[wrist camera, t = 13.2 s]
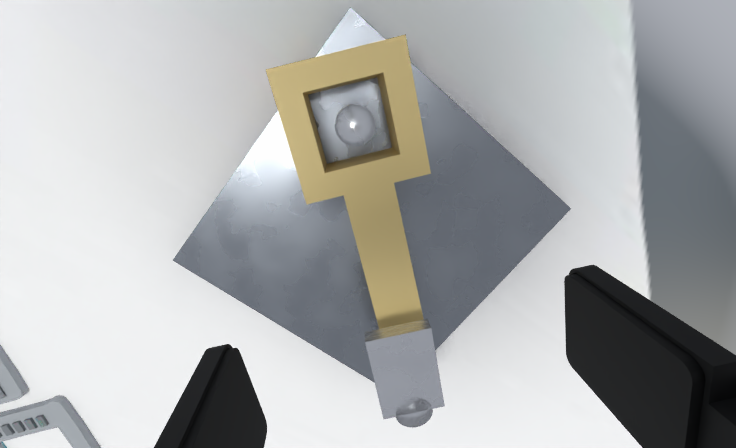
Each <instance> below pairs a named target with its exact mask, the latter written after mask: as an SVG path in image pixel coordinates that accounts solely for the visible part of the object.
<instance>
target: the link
mask: <svg viewBox="0 0 736 448" xmlns="http://www.w3.org/2000/svg"><path fill="white" fill-rule="evenodd" d="M266 72H267V76H268V79H269V82H270V86H271V89H272V92H273V95H274V99H275V102H276V105H277V109H278V112H279V115H280V119H281V122H282V125H283V128H284V132H285V135H286V138H287V142H288V145H289V148H290V151H291V155H292V158H293V161H294V165H295V168H296V171H297V175H298V178H299V181H300V184H301V188H302V191H303V194H304V198H305V201H306V204H311V203H315V202H319V201H323V200H327V199H331V198H335V197H339V196H343V195H344V199H345V203H346V207H347V210H348V214H349V218H350V222H351V225H352V229H353V233H354V236H355V240H356V244H357V248H358V251H359V255H360V259H361V263H362V266H363V270H364V274H365V278H366V281H367V285H368V289H369V293H370V296H371V300H372V304H373V308H374V311H375V315H376V319H377V323H378V326H379V329H382V328H386V327H391V326H396V325H400V324H405V323H409V322H414V321H419V320H423V319H424V318H423V314H422V309H421V305H420V300H419V295H418V291H417V286H416V282H415V277H414V272H413V268H412V263H411V259H410V254H409V250H408V245H407V240H406V236H405V231H404V227H403V222H402V217H401V213H400V208H399V204H398V199H397V195H396V190H395V185H394V183H395V182H399V181H403V180H407V179H411V178H415V177H419V176H423V175H427V174H431V171H430V166H429V160H428V155H427V149H426V144H425V138H424V133H423V127H422V122H421V116H420V111H419V105H418V100H417V95H416V89H415V84H414V78H413V73H412V67H411V62H410V56H409V51H408V45H407V40H406V34H405V35H401V36H397V37H393V38H389V39H385V40H381V41H377V42H374V43H370V44H366V45H362V46H358V47H354V48H350V49H346V50H342V51H338V52H334V53H330V54H326V55H322V56H318V57H314V58H310V59H306V60H302V61H298V62H294V63H290V64H286V65H282V66H278V67H274V68H270V69H266ZM376 77H377V79H378V84H379V88H380V93H381V98H382V103H383V107H384V112H385V117H386V121H387V126H388V131H389V135H390V140H391V145H392V148H388V149H384V150H380V151H376V152H372V153H368V154H364V155H360V156H356V157H352V158H348V159H344V160H340V161H336V162H332V163H328V164H327V162H326V159H325V155H324V151H323V148H322V144H321V140H320V137H319V133H318V129H317V126H316V122H315V118H314V115H313V111H312V107H311V104H310V100H309V97H308V94H312V93H316V92H320V91H324V90H328V89H332V88H336V87H340V86H344V85H348V84H352V83H356V82H360V81H364V80H368V79H372V78H376Z"/></svg>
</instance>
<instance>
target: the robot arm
mask: <svg viewBox="0 0 736 448" xmlns="http://www.w3.org/2000/svg"><path fill="white" fill-rule="evenodd" d="M564 282H565V324H566V355H567V359H568V361H569V363H570V365H571V366H572V368H573V369H574V370H575V371H576V372H577V373H578V375H579V376H580V377H581V378H582V379H583V380H584V381H585V382H586V384H587V385H588V386H589V387H590V388H591V389H592V390H593V392H594V393H595V394H596V395H597V396H598V397H599V398H600V400H601V401H602V402H603V403H604V404H605V405H606V406H607V408H608V409H609V410H610V411H611V412H612V413H613V414H614V416H615V417H616V418H617V419H618V420H619V421H620V422H621V424H622V425H623V426H624V427H625V428H626V429H627V430H628V432H629V433H630V434H631V435H632V436H633V437H634V438H635V440H636V441H637V442H638V443H639V444H640V445H641V446H642V447H643V448H736V355H734V354H733V353H731V352H730V351H728V350H726V349H725V348H723V347H722V346H720V345H719V344H717V343H716V342H714V341H713V340H711V339H709V338H708V337H706V336H705V335H703V334H702V333H700V332H698V331H697V330H695V329H694V328H692V327H691V326H689V325H688V324H686V323H684V322H683V321H681V320H680V319H678V318H676V317H675V316H674V315H672V314H670V313H669V312H667V311H666V310H664V309H663V308H661V307H659V306H658V305H656V304H654V303H653V302H652V301H650V300H649V299H647V298H645V297H644V296H642V295H641V294H639V293H638V292H636V291H634V290H633V289H631V288H630V287H628V286H627V285H625V284H624V283H622V282H620V281H619V280H617V279H616V278H614V277H613V276H611V275H610V274H608V273H606V272H605V271H603V270H602V269H600V268H599V267H597V266H595V265H589V266H585V267H580V268H575V269H572V270H571V271H570V273H569V275H568V276H566V277H565V281H564ZM266 434H267V423H266V419H265V416H264V414H263V411H262V408H261V406H260V403H259V401H258V398H257V395H256V393H255V390H254V388H253V385H252V382H251V380H250V377H249V375H248V372H247V369H246V367H245V364H244V362H243V359H242V357H241V354H240V352H239V350H238V349H237V348H232V346H231V345H229V344H226V345H222V346H217V347H212V348H208V349H207V350H206V351H205V353H204V355H203V356H202V358H201V360H200V362H199V364H198V366H197V368H196V370H195V372H194V373H193V375H192V377H191V379H190V381H189V383H188V385H187V387H186V388H185V390H184V392H183V394H182V396H181V398H180V400H179V402H178V403H177V405H176V407H175V409H174V411H173V413H172V415H171V417H170V418H169V420H168V422H167V424H166V426H165V428H164V430H163V432H162V433H161V435H160V437H159V439H158V441H157V443H156V445H155V447H154V448H264V444H265V439H266Z"/></svg>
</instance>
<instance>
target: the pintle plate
mask: <svg viewBox="0 0 736 448" xmlns="http://www.w3.org/2000/svg"><path fill="white" fill-rule="evenodd" d="M381 40H385V38H384V37H383V36H381V35H380V34H379V33H378V32H377V31H376V30H375V29H374V28H373V27H372V26H370V25H369V24H368V23H367V22H366V21H365V20H364V19H363V18H362V17H361V16H360V15H358V14H357V13H356V12H355V11H354V10H353V9H352V8H351V7H350V8H349V9H348V11H347V12H346V14H345V15H344V17H343V18H342V19H341V21H340V22H339V24H338V25H337V27H336V28H335V29H334V31H333V32H332V34H331V35H330V37H329V38H328V39H327V41H326V42H325V44H324V45H323V47H322V48H321V49H320V51H319V52H318V54H317V55H316V57H318V56H322V55H326V54H330V53H334V52H338V51H342V50H346V49H350V48H354V47H358V46H362V45H366V44H370V43H374V42H377V41H381ZM411 67H412V73H413V78H414V84H415V89H416V95H417V100H418V105H419V111H420V116H421V122H422V127H423V133H424V138H425V144H426V149H427V155H428V160H429V166H430V171H431V174H427V175H423V176H419V177H415V178H411V179H407V180H403V181H399V182H395V183H394V185H395V190H396V195H397V199H398V204H399V208H400V213H401V217H402V222H403V227H404V231H405V236H406V240H407V245H408V250H409V254H410V259H411V263H412V268H413V272H414V277H415V282H416V286H417V291H418V295H419V300H420V305H421V309H422V314H423V318H424V319H423V320H419V321H414V322H409V323H405V324H400V325H396V326H391V327H386V328H382V329H379V326H378V323H377V319H376V315H375V311H374V308H373V304H372V300H371V296H370V293H369V289H368V285H367V281H366V278H365V274H364V270H363V266H362V263H361V259H360V255H359V251H358V248H357V244H356V240H355V236H354V233H353V229H352V225H351V222H350V218H349V214H348V210H347V207H346V203H345V199H344V195H343V196H339V197H335V198H331V199H327V200H323V201H319V202H315V203H311V204H306V201H305V198H304V194H303V191H302V188H301V184H300V181H299V178H298V175H297V171H296V168H295V165H294V161H293V158H292V155H291V151H290V148H289V145H288V142H287V138H286V135H285V132H284V128H283V125H282V122H281V119H280V115H279V112H278V111H277V112H276V114H275V115H274V117H273V118H272V119H271V121H270V122H269V124H268V125H267V127H266V128H265V129H264V131H263V132H262V134H261V135H260V137H259V138H258V139H257V141H256V142H255V144H254V145H253V147H252V148H251V149H250V151H249V152H248V154H247V155H246V157H245V158H244V159H243V161H242V162H241V164H240V165H239V167H238V168H237V169H236V171H235V172H234V174H233V175H232V177H231V178H230V179H229V181H228V182H227V184H226V185H225V187H224V188H223V189H222V191H221V192H220V194H219V195H218V196H217V198H216V199H215V201H214V202H213V204H212V205H211V206H210V208H209V209H208V211H207V212H206V214H205V215H204V216H203V218H202V219H201V221H200V222H199V224H198V225H197V226H196V228H195V229H194V231H193V232H192V234H191V235H190V236H189V238H188V239H187V241H186V242H185V244H184V245H183V246H182V248H181V249H180V251H179V252H178V254H177V255H176V256H175V258H174V259H173V261H175V262H176V263H178V264H180V265H181V266H183V267H185V268H186V269H188V270H189V271H191V272H193V273H194V274H196V275H198V276H199V277H201V278H203V279H204V280H206V281H208V282H209V283H211V284H213V285H214V286H216V287H218V288H219V289H221V290H223V291H224V292H226V293H227V294H229V295H231V296H232V297H234V298H236V299H237V300H239V301H241V302H242V303H244V304H246V305H247V306H249V307H251V308H252V309H254V310H256V311H257V312H259V313H261V314H262V315H264V316H265V317H267V318H269V319H270V320H272V321H274V322H275V323H277V324H279V325H280V326H282V327H284V328H285V329H287V330H289V331H290V332H292V333H294V334H295V335H297V336H298V337H300V338H302V339H303V340H305V341H307V342H308V343H310V344H312V345H313V346H315V347H317V348H318V349H320V350H322V351H323V352H325V353H327V354H328V355H330V356H332V357H333V358H335V359H336V360H338V361H340V362H341V363H343V364H345V365H346V366H348V367H350V368H351V369H353V370H355V371H356V372H358V373H360V374H361V375H363V376H365V377H366V378H368V379H370V380H371V381H373V382H374V383H375V385H376V389H377V393H378V398H379V402H380V406H381V410H382V414H383V418H384V419H388V418H392V417H396V418H397V420H398V422H399V423H400V424H402V425H404V426H406V427H418V426H421V425H423V424H425V423H426V422H427V421H428V420H429V419H430V418H431V416H432V412H433V410H432V409H434V408H438V407H443V406H444V400H443V394H442V388H441V382H440V376H439V371H438V365H437V359H436V353H435V350H436V349H437V348H438V347H439V346H440V345H441V344H442V343H443V342H444V341H445V340H446V339H447V338H448V337H449V335H450V334H451V333H452V332H453V331H454V330H455V329H456V328H457V327H458V326H459V325H460V324H461V323H462V322H463V321H464V320H465V319H466V318H467V317H468V316H469V315H470V314H471V312H472V311H473V310H474V309H475V308H476V307H477V306H478V305H479V304H480V303H481V302H482V301H483V300H484V299H485V298H486V297H487V296H488V295H489V294H490V293H491V292H492V291H493V290H494V288H495V287H496V286H497V285H498V284H499V283H500V282H501V281H502V280H503V279H504V278H505V277H506V276H507V275H508V274H509V273H510V272H511V271H512V270H513V269H514V268H515V267H516V266H517V264H518V263H519V262H520V261H521V260H522V259H523V258H524V257H525V256H526V255H527V254H528V253H529V252H530V251H531V250H532V249H533V248H534V247H535V246H536V245H537V244H538V243H539V241H540V240H541V239H542V238H543V237H544V236H545V235H546V234H547V233H548V232H549V231H550V230H551V229H552V228H553V227H554V226H555V225H556V224H557V223H558V222H559V221H560V220H561V219H562V217H563V216H564V215H565V214H566V213H567V212H568V211H569V210H570V209H571V208H570V207H569V206H568V205H567V204H565V203H564V202H563V201H562V200H561V199H560V198H559V197H558V196H557V195H556V194H554V193H553V192H552V191H551V190H550V189H549V188H548V187H547V186H546V185H545V184H544V183H542V182H541V181H540V180H539V179H538V178H537V177H536V176H535V175H534V174H533V173H531V172H530V171H529V170H528V169H527V168H526V167H525V166H524V165H523V164H522V163H521V162H519V161H518V160H517V159H516V158H515V157H514V156H513V155H512V154H511V153H510V152H508V151H507V150H506V149H505V148H504V147H503V146H502V145H501V144H500V143H499V142H498V141H496V140H495V139H494V138H493V137H492V136H491V135H490V134H489V133H488V132H487V131H485V130H484V129H483V128H482V127H481V126H480V125H479V124H478V123H477V122H476V121H475V120H473V119H472V118H471V117H470V116H469V115H468V114H467V113H466V112H465V111H464V110H462V109H461V108H460V107H459V106H458V105H457V104H456V103H455V102H454V101H453V100H452V99H450V98H449V97H448V96H447V95H446V94H445V93H444V92H443V91H442V90H441V89H439V88H438V87H437V86H436V85H435V84H434V83H433V82H432V81H431V80H430V79H429V78H427V77H426V76H425V75H424V74H423V73H422V72H421V71H420V70H419V69H418V68H416V67H415V66H414V65H413V64H412V63H411ZM308 97H309V100H310V104H311V107H312V111H313V115H314V118H315V122H316V126H317V129H318V133H319V137H320V140H321V144H322V148H323V151H324V155H325V159H326V162H327V164H328V163H332V162H336V161H340V160H344V159H348V158H352V157H356V156H360V155H364V154H368V153H372V152H376V151H380V150H384V149H388V148H392V145H391V140H390V135H389V131H388V126H387V121H386V117H385V112H384V107H383V103H382V98H381V93H380V88H379V84H378V79H377V77H376V78H372V79H368V80H364V81H360V82H356V83H352V84H348V85H344V86H340V87H336V88H332V89H328V90H324V91H320V92H316V93H312V94H308Z"/></svg>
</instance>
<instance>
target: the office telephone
mask: <svg viewBox="0 0 736 448" xmlns="http://www.w3.org/2000/svg"><path fill="white" fill-rule="evenodd" d="M27 391H28V386H27V384H26V383H25V381H24V380H23V378H22V376H21V375H20V373H19V372H18V370H17V369H16V367H15V366H14V364H13V363H12V361H11V360H10V358H9V357H8V355H7V354H6V353H5V351H4V350H3V348H2V347H1V345H0V404H3V403H6V402H10V401H14V400H17V399H19V398H21V397H22V396H23V395H24V394H25V393H27ZM57 427H58V428H59V429H60V431H61V432H62V433H63V435H64V436H65V438H66V439H67V440H68V442H69V443H70V444H71V446H72V447H73V448H100V446H99V444H98V443H97V441H96V440H95V438H94V437H93V435H92V434H91V432H90V431H89V429H88V427H87V426H86V424H85V423H84V421H83V420H82V418H81V417H80V416H79V414H78V413H77V412H76V410H75V409H74V408H73V406H72V405H71V403H70V402H69V401H68V400H67V398H66V397H64V396H60V395H59V396H55V397H54V398H52V399H49V400H46V401H42V402H39V403H35V404H31V405H27V406H24V407H20V408H16V409H13V410H9V411H5V412H1V413H0V448H7V447H6V446H5V445H4V443H3V442H2V441H6V440H9V439H13V438H17V437H20V436H24V435H28V434H32V433H36V432H40V431H44V430H48V429H52V428H57Z"/></svg>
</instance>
